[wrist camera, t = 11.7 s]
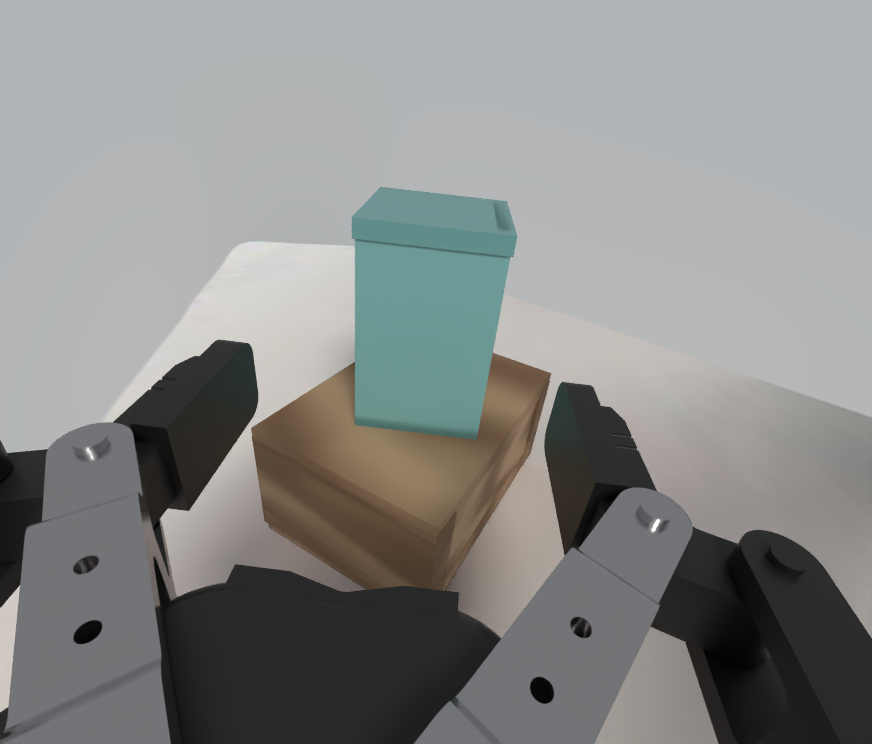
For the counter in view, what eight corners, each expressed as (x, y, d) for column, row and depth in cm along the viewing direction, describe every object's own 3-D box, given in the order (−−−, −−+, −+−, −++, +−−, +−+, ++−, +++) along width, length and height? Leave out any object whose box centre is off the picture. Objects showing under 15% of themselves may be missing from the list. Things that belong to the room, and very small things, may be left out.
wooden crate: (406, 404, 36) (412, 324, 32) (529, 458, 32) (551, 373, 28) (265, 526, 25) (250, 427, 22) (424, 629, 21) (439, 529, 18)
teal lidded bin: (375, 362, 28) (380, 186, 22) (477, 374, 28) (506, 201, 22) (352, 426, 22) (351, 217, 17) (478, 441, 22) (516, 236, 17)
